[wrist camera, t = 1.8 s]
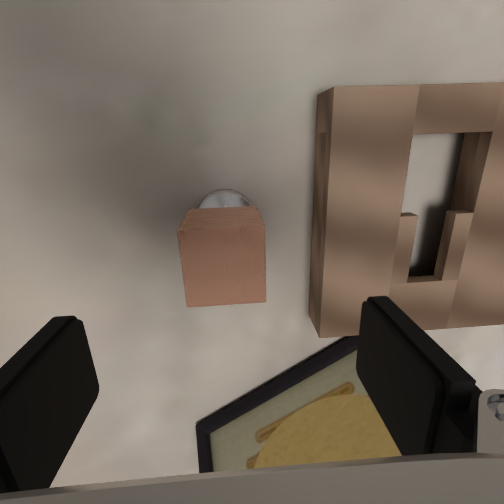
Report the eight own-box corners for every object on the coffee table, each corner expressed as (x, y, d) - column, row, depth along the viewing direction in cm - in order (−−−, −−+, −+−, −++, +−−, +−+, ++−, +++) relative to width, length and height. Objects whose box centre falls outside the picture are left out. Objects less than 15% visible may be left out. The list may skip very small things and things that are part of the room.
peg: (195, 190, 23) (172, 226, 14) (252, 188, 23) (269, 221, 14) (200, 245, 24) (183, 311, 15) (254, 242, 25) (270, 305, 15)
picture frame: (392, 307, 28) (563, 493, 15) (421, 361, 32) (576, 546, 19) (194, 423, 31) (186, 660, 18) (242, 458, 35) (265, 675, 22)
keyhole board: (317, 94, 21) (334, 86, 18) (531, 88, 22) (584, 80, 19) (308, 314, 28) (319, 337, 24) (474, 302, 28) (506, 324, 25)
